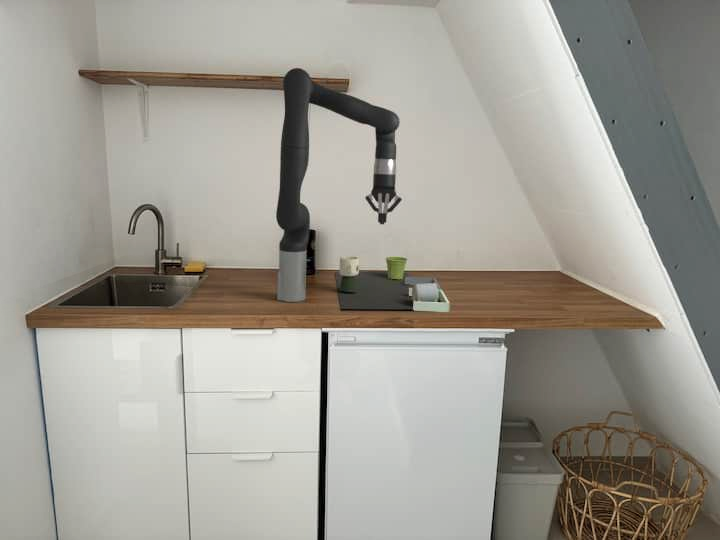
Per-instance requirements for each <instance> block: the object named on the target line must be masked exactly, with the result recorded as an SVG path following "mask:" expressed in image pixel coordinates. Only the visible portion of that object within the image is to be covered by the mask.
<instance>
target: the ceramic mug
mask: <svg viewBox="0 0 720 540" xmlns="http://www.w3.org/2000/svg"><path fill="white" fill-rule="evenodd" d="M411 288H412V297H411V299H412V302H413V301H420V302H439V298H438V287H437V284H436V283H428V284H416V285H412V287H411Z"/></svg>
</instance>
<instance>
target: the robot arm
mask: <svg viewBox="0 0 720 540" xmlns="http://www.w3.org/2000/svg"><path fill="white" fill-rule="evenodd" d="M282 87H283V94H284V95H283V96H284V116H283V117H284V118H283V123H282V131H281V139H280V140H281V141H280V157H279V158H280V160H279V161H280V164H279V166H280V167H279V191H278V198H277V206H276V211H275V212H276V213H275V216H276V217H275V218H276V223H277V224H278V226H279V227H280V229H281V230H283V236H282V238H281V240H280V241H279V246H278V249H279V251H278V259H279V260H278V272H277V294H276V295H277V299H276V300H277V301H282V302H289V303H296V302H302V301H305V300H306V290H307V289H306V288H307V287H306V285H307V284H306V283H307V282H306V281H307V280H306V279H307V252H308V250H307V246H308V243H309V239H310V225H311V224H310V223H311V216H310V212H309V211H310V210H309V209H308V207H307V206H306V205H305V204H304V203H302V202H301V191H302V190H301V189H302V186H303V185H302V184H303V181H304V178H305V176H306V173H307V170H308V166H309V160H310V130H309V129H310V128H309V116H308V115H309V107H310V106H309V105H310V104H311V105H314V106H318V107H320V108H324V109H325V110H329V111H331V112H334V113H335V114H337V115H340V116H341V117H344V118H347V119H349V120H351V121H353V122H356V123H359V124H363V125H368V126H370V127H373V128H374V129H375V152H374V156H375V157H374V163H373V175H372V176H373V179H372V180H373V182H372V189H371V191H370V192H371V193H369V194H368V195H366V196H365V201H366V202H367V203H368V205H369V207H370V208H371V209H372V210H373V212H375V213H377V216H378V217H377V222H378V223H379V225H385V224H386V222H387V219H388V218H387V214H388V213H391V212H393V211H394V210H395V208H396V207H397V206H398V205H399V204H400V203H401V201H402V200H403V199H402V197H400V196H399V195H397V191H396V179H397V178H396V177H397V176H396V175H397V143H396V131H397V130H398V129H399V127H400V122H401V121H400V117H399V116H398V114H396V112H394V111H392V110H390V109H387V108H384V107H382V106H378V105H374V104H372V103H370V102H367V101H365V100H364V99H360V98H358V97H355V96H353V95H349V94H346V93H343V92H340V91H336V90H333V89H330V88H328V87H325V86H323V85H322V84H319V83H317V82H316V81H314V80H313V79H312V78H311V76H310V74H309V73H308V72H307V71H306V70H305V69H303V68H298V67H295V68H291V69H289V70H288V71H287V72H286V74H285V75H284V77H283V80H282ZM373 200H375V201H376V203H377V207H376V205H375V204H374V202H373ZM392 201H394V202H393V203H392V204H391V205H390V206H389V203H391V202H392ZM388 207H389V208H388Z"/></svg>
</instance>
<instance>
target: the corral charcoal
mask: <svg viewBox="0 0 720 540" xmlns="http://www.w3.org/2000/svg"><path fill="white" fill-rule="evenodd" d="M428 283H436V284H437V287H438V290H442V291H443V289H442V287H441V286H440V284H439V283H438V281H437V279H436V278H433V277H415V276H414V277H413V276H405V279H404V285H405V284H410V285H409V286H414V285H416V284H428ZM407 295H409V293H408V294H407Z"/></svg>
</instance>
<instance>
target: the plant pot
mask: <svg viewBox="0 0 720 540" xmlns="http://www.w3.org/2000/svg"><path fill="white" fill-rule="evenodd" d="M384 259H385V261H386V265H387V266H386V267H387V279H390V278H391V279H390V280H392V279H398V280H400V279H401V280H403V279H404V272H405V267H406V263H407V261H408V258H407V257H402V256H387V257H385V258H384Z"/></svg>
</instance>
